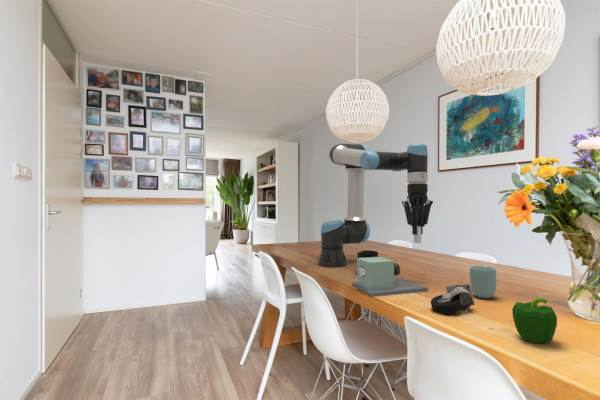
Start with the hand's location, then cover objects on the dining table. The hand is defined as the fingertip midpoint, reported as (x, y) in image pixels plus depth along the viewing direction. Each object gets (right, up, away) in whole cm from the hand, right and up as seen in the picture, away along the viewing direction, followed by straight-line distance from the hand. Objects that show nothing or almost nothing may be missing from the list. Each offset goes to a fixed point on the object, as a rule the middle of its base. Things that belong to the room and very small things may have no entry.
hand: (417, 242), depth 123 cm
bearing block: (-13, -17, -4) cm, 22 cm away
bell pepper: (+8, -16, -50) cm, 53 cm away
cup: (+16, -16, -17) cm, 29 cm away
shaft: (-17, -12, -5) cm, 21 cm away
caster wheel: (-1, -17, -30) cm, 35 cm away
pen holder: (-15, -17, +21) cm, 31 cm away
